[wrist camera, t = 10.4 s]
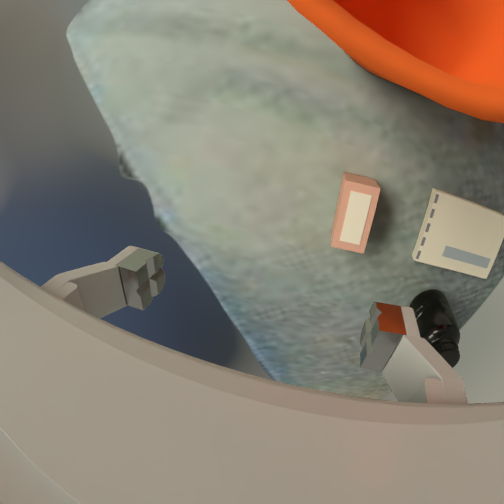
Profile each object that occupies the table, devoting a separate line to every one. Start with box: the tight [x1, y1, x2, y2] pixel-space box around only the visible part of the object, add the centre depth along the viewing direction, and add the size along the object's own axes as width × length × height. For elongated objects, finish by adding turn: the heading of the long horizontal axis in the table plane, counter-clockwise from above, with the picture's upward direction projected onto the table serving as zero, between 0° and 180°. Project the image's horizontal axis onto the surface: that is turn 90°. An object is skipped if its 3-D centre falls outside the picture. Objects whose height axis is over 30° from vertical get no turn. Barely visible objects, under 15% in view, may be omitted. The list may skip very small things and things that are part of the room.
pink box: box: [331, 172, 380, 253], centre depth 31 cm, size 4×8×5 cm, turn 175°
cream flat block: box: [412, 188, 504, 279], centre depth 30 cm, size 14×10×2 cm
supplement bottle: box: [410, 290, 460, 368], centre depth 31 cm, size 7×7×12 cm
